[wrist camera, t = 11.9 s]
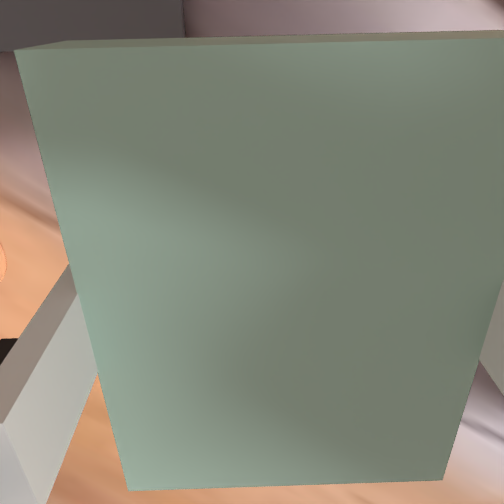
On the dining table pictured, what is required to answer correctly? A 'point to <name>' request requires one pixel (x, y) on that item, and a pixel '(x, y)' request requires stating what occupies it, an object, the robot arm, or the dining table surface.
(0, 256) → the beer glass
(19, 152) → the dining table surface
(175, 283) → the board
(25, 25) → the rubber mat
